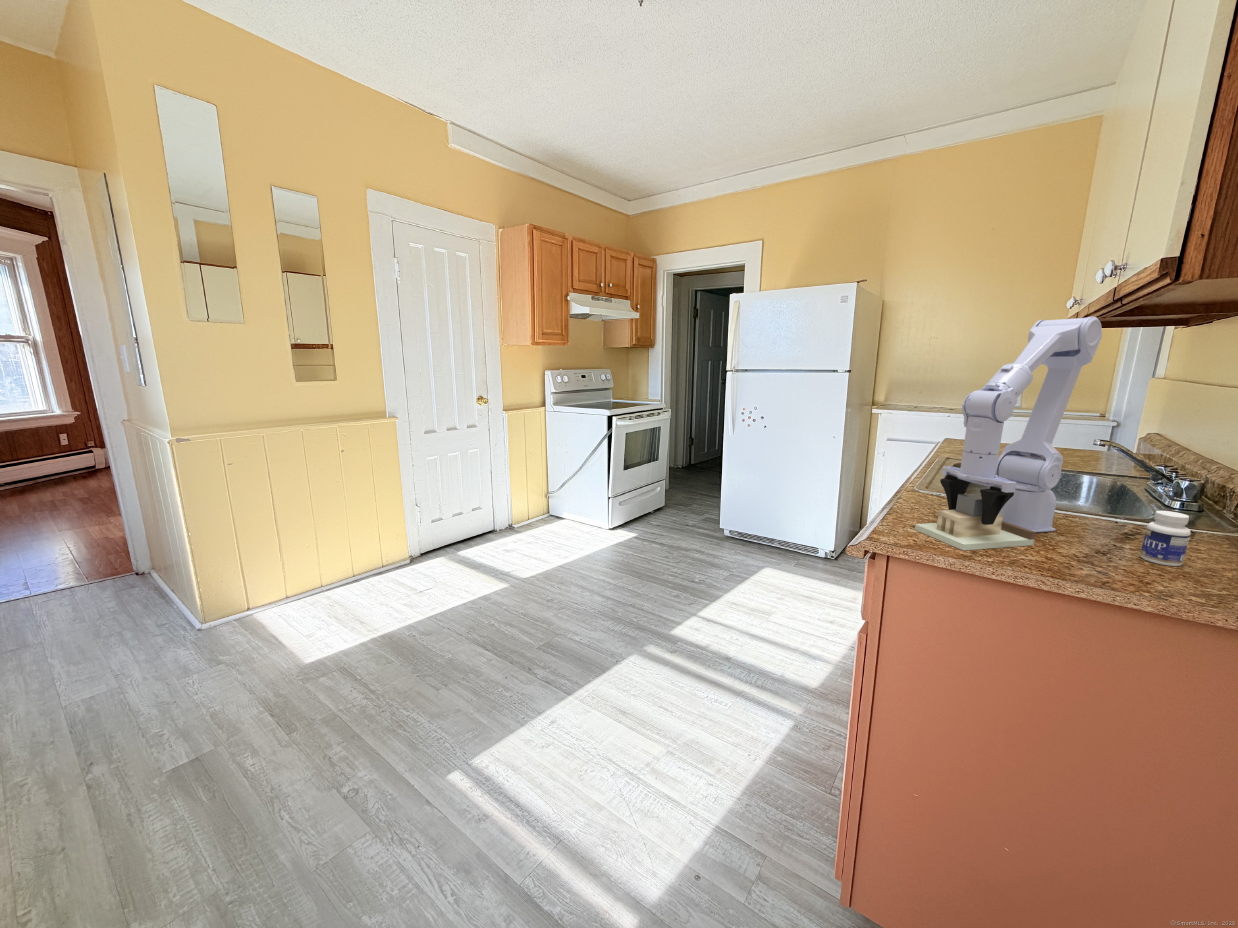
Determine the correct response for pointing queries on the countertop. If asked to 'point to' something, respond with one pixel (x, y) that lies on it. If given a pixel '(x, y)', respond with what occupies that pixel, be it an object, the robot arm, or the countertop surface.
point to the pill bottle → (1166, 539)
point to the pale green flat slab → (982, 537)
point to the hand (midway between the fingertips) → (970, 518)
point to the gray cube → (969, 504)
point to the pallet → (966, 524)
